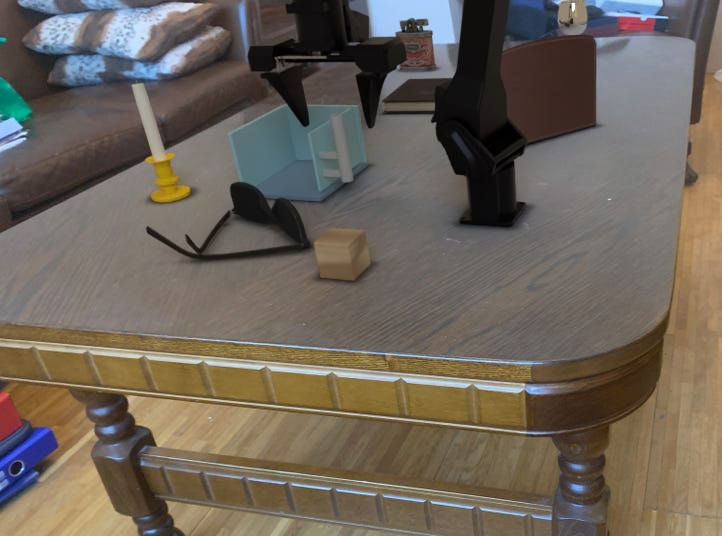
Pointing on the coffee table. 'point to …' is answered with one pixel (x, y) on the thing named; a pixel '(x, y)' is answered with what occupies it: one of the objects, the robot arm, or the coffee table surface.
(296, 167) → the enclosure
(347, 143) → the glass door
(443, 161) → the coffee table surface
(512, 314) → the coffee table surface
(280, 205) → the sunglasses
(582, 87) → the letter holder
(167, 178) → the candle
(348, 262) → the block
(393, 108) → the hardcover book
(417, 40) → the lighter
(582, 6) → the wineglass
